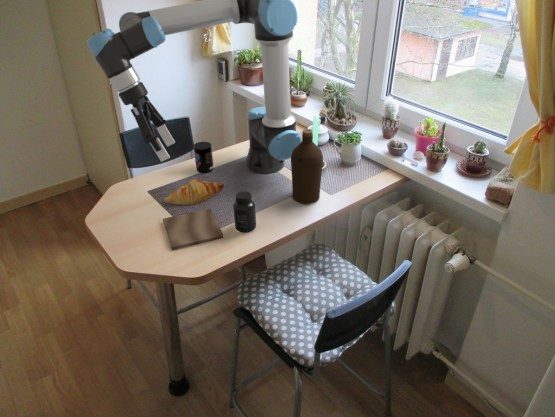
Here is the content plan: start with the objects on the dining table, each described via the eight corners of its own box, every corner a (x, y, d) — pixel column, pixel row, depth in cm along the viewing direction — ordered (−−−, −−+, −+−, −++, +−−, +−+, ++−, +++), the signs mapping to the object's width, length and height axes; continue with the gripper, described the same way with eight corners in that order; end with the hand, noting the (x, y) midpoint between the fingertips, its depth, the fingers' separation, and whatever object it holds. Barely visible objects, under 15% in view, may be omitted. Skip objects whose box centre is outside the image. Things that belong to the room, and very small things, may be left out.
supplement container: (201, 164, 181) (198, 140, 175) (216, 167, 179) (214, 142, 173) (193, 172, 175) (190, 148, 170) (209, 175, 174) (206, 150, 168)
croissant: (169, 217, 157) (168, 205, 150) (160, 193, 161) (159, 181, 154) (227, 201, 164) (229, 189, 157) (217, 178, 168) (218, 166, 161)
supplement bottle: (260, 227, 145) (259, 195, 139) (244, 236, 141) (242, 203, 135) (246, 218, 149) (244, 186, 143) (230, 227, 145) (227, 195, 139)
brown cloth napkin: (211, 211, 153) (210, 208, 152) (223, 238, 141) (223, 235, 140) (162, 221, 148) (162, 218, 148) (171, 250, 136) (171, 247, 135)
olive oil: (322, 205, 155) (326, 137, 141) (291, 206, 155) (291, 138, 141) (319, 189, 164) (322, 123, 150) (290, 189, 164) (290, 124, 150)
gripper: (126, 83, 140) (163, 143, 149) (106, 103, 117) (151, 172, 127) (148, 73, 139) (183, 133, 148) (132, 90, 117) (174, 160, 126)
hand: (168, 151), depth 137 cm, fingers open, 13 cm apart
